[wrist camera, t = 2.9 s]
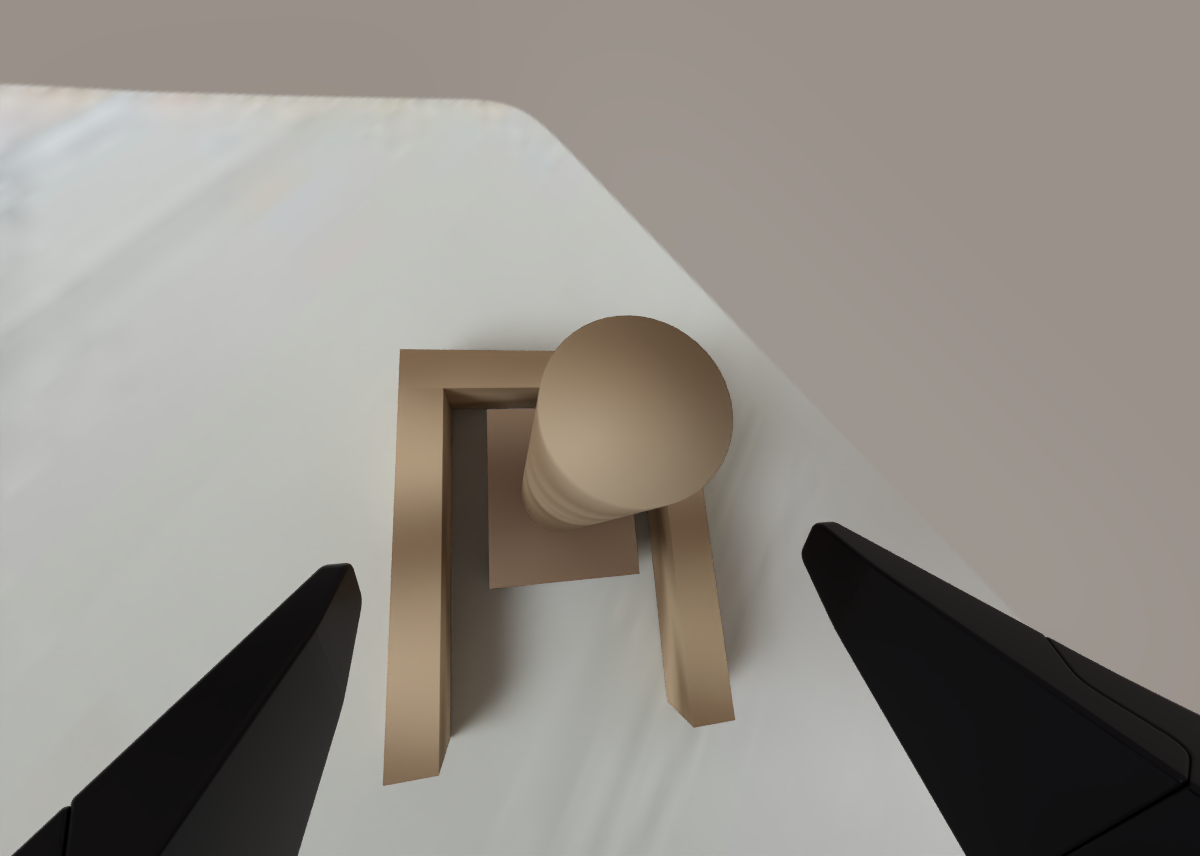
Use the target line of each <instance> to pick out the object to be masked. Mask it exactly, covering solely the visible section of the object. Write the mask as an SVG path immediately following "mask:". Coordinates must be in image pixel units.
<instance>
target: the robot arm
mask: <svg viewBox="0 0 1200 856" xmlns="http://www.w3.org/2000/svg"><path fill="white" fill-rule="evenodd" d="M802 559H803V562H804V565H805V567H806V569H807V571H808V573H809V575H810V577H811V580H812V582H813V584H814V586H815V588H816V590H817V592H818V595H819V597H820V599H821V601H822V603H823V605H824V608H825V610H826V612H827V614H828V616H829V618H830V620H831V622H832V624H833V626H834V628H835V630H836V632H837V634H838V636H839V637H840V639H841V641H842V643H843V644H844V646H845V648H846V650H847V651H848V653H849V655H850V657H851V658H852V660H853V662H854V663H855V665H856V667H857V669H858V670H859V672H860V674H861V676H862V677H863V679H864V681H865V682H866V684H867V686H868V688H869V689H870V691H871V693H872V695H873V696H874V698H875V700H876V701H877V703H878V705H879V707H880V708H881V710H882V712H883V714H884V715H885V717H886V719H887V720H888V722H889V724H890V726H891V727H892V729H893V731H894V732H895V734H896V736H897V738H898V739H899V741H900V743H901V745H902V746H903V748H904V750H905V751H906V753H907V755H908V757H909V758H910V760H911V762H912V764H913V765H914V767H915V769H916V770H917V772H918V774H919V776H920V777H921V779H922V781H923V783H924V784H925V786H926V788H927V789H928V791H929V793H930V795H931V796H932V798H933V800H934V802H935V803H936V805H937V807H938V808H939V810H940V812H941V814H942V815H943V817H944V819H945V820H946V822H947V824H948V826H949V827H950V829H951V831H952V833H953V834H954V836H955V838H956V839H957V841H958V843H959V845H960V846H961V848H962V850H963V852H964V853H965V855H966V856H1200V715H1199V714H1197V713H1195V712H1192V711H1191V710H1188V709H1186V708H1184V707H1182V706H1180V705H1178V704H1176V703H1174V702H1172V701H1170V700H1168V699H1166V698H1164V697H1162V696H1160V695H1158V694H1156V693H1154V692H1152V691H1150V690H1148V689H1146V688H1144V687H1142V686H1140V685H1138V684H1136V683H1134V682H1132V681H1130V680H1128V679H1126V678H1124V677H1122V676H1120V675H1118V674H1116V673H1115V672H1113V671H1111V670H1109V669H1107V668H1105V667H1103V666H1101V665H1099V664H1098V663H1096V662H1094V661H1092V660H1090V659H1088V658H1086V657H1084V656H1082V655H1080V654H1078V653H1077V652H1075V651H1073V650H1071V649H1069V648H1067V647H1066V646H1064V645H1062V644H1060V643H1058V642H1056V641H1055V640H1053V639H1051V638H1048V637H1045V636H1044V635H1043V634H1041V633H1039V632H1038V631H1036V630H1034V629H1032V628H1030V627H1029V626H1027V625H1025V624H1023V623H1021V622H1019V621H1017V620H1016V619H1014V618H1012V617H1010V616H1008V615H1006V614H1004V613H1003V612H1001V611H999V610H997V609H995V608H993V607H992V606H990V605H988V604H986V603H984V602H982V601H980V600H979V599H977V598H975V597H973V596H971V595H969V594H967V593H966V592H964V591H962V590H960V589H958V588H956V587H954V586H953V585H951V584H949V583H947V582H945V581H943V580H942V579H940V578H938V577H936V576H934V575H932V574H930V573H929V572H927V571H925V570H923V569H921V568H919V567H918V566H916V565H914V564H912V563H910V562H908V561H906V560H905V559H903V558H901V557H899V556H897V555H895V554H893V553H892V552H890V551H888V550H886V549H884V548H882V547H881V546H879V545H877V544H875V543H873V542H871V541H869V540H868V539H866V538H864V537H862V536H860V535H858V534H857V533H855V532H853V531H851V530H849V529H847V528H845V527H844V526H842V525H840V524H838V523H835V522H822V523H816V524H815V525H814V526H813V527H812V529H811V531H810V533H809V535H808V538H807V540H806V542H805V544H804V547H803V549H802ZM361 604H362V598H361V592H360V589H359V585H358V582H357V579H356V575H355V572H354V569H353V567H352V565H351V564H349V563H341V564H329V565H325V566H323V567H321V568H320V569H318V570H317V571H316V572H315V573H314V574H313V575H312V576H311V577H310V578H309V579H308V580H307V581H305V582H304V583H303V584H302V585H301V586H300V587H299V588H298V589H297V590H296V591H295V592H294V593H293V594H292V595H290V596H289V597H288V598H287V599H286V600H285V601H284V602H283V603H282V604H281V605H280V606H279V607H278V608H277V609H275V610H274V611H273V612H272V613H271V614H270V615H269V616H268V617H267V618H266V619H265V620H264V621H263V622H262V623H260V624H259V625H258V626H257V627H256V628H255V629H254V630H253V631H252V632H251V633H250V634H249V635H248V636H247V637H245V638H244V639H243V640H242V641H241V642H240V643H239V644H238V645H237V646H236V647H235V648H234V649H233V650H232V651H231V652H229V653H228V654H227V655H226V656H225V657H224V658H223V659H222V660H221V661H220V662H219V663H218V664H217V665H216V666H214V667H213V668H212V669H211V670H210V671H209V672H208V673H207V674H206V675H205V676H204V677H203V678H202V679H201V680H199V681H198V682H197V683H196V684H195V685H194V686H193V687H192V688H191V689H190V690H189V691H188V692H187V693H186V694H184V695H183V696H182V697H181V698H180V699H179V700H178V701H177V702H176V703H175V704H174V705H173V706H172V707H171V708H169V709H168V710H167V711H166V712H165V713H164V714H163V715H162V716H161V717H160V718H159V719H158V720H157V721H156V722H155V723H153V724H152V725H151V726H150V727H149V728H148V729H147V730H146V731H145V732H144V733H143V734H142V735H141V736H140V737H138V738H137V739H136V740H135V741H134V742H133V743H132V744H131V745H130V746H129V747H128V748H127V749H126V750H125V751H123V752H122V753H121V754H120V755H119V756H118V757H117V758H116V759H115V760H114V761H113V762H112V763H111V764H110V765H108V766H107V767H106V768H105V769H104V770H103V771H102V772H101V773H100V774H99V775H98V776H97V777H96V778H95V779H93V780H92V781H91V782H90V783H89V784H88V785H87V786H86V787H85V788H84V789H83V790H82V791H81V792H80V793H79V794H77V795H76V796H75V797H74V798H73V800H72V802H71V806H67V807H64V808H62V809H61V810H60V811H59V812H58V813H57V814H56V815H55V816H54V817H52V818H51V819H50V820H49V821H48V822H47V823H46V824H45V825H44V826H43V827H42V828H41V829H40V830H39V831H37V832H36V833H35V834H34V835H33V836H32V837H31V838H30V839H29V840H28V841H27V842H26V843H25V844H24V845H22V846H21V847H20V848H19V849H18V850H17V851H16V852H15V853H14V854H13V855H12V856H298V853H299V850H300V846H301V843H302V840H303V836H304V833H305V830H306V826H307V823H308V820H309V816H310V813H311V810H312V806H313V803H314V800H315V796H316V793H317V790H318V786H319V783H320V780H321V776H322V773H323V770H324V766H325V763H326V760H327V756H328V753H329V750H330V746H331V743H332V740H333V736H334V733H335V730H336V726H337V723H338V720H339V716H340V713H341V709H342V705H343V702H344V697H345V692H346V687H347V682H348V677H349V671H350V666H351V660H352V655H353V650H354V644H355V639H356V633H357V628H358V623H359V617H360V612H361Z"/></svg>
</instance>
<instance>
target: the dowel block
mask: <svg viewBox="0 0 1200 856" xmlns="http://www.w3.org/2000/svg"><path fill="white" fill-rule="evenodd" d="M732 430H733V412H732V404H731V399H730V395H729V391H728V388H727V386H726V383H725V380H724V378H723V376H722V374H721V372H720V370H719V369H718V367H717V366H716V364H715V363H714V361H713V360H712V358H711V357H710V356H709V355H708V354H707V352H706V351H705V350H704V349H703V348H702V347H701V346H700V345H699V344H698V343H697V342H696V341H694V340H693V339H692V338H691V337H689V336H688V335H687V334H685V333H683V332H682V331H680V330H679V329H677V328H675V327H673V326H671V325H669V324H666V323H664V322H661V321H658V320H655V319H651V318H646V317H641V316H614V317H608V318H604V319H600V320H597V321H594V322H592V323H589V324H587V325H585V326H583V327H581V328H580V329H578V330H577V331H575V332H574V333H572V334H571V335H570V336H569V337H568V338H566V339H565V340H564V341H563V342H562V343H561V345H560V346H559V347H558V348H557V349H556V351H555V352H554V353H553V355H552V356H551V358H550V360H549V362H548V364H547V366H546V368H545V370H544V373H543V376H542V380H541V383H540V389H539V394H538V399H537V405H536V409H487V460H488V529H489V589H494V588H504V587H514V586H523V585H533V584H543V583H553V582H562V581H572V580H582V579H592V578H602V577H611V576H621V575H631V574H640V573H639V562H638V552H637V542H636V532H635V521H634V514H636V513H640V512H644V511H648V510H651V509H655V508H659V507H663V506H667V505H670V504H674V503H677V502H679V501H681V500H683V499H686V498H688V497H689V496H691V495H693V494H694V493H696V492H697V491H699V490H700V489H701V488H702V487H703V486H705V485H706V484H707V483H708V482H709V481H710V480H711V478H712V477H713V476H714V475H715V474H716V472H717V471H718V469H719V468H720V466H721V465H722V463H723V461H724V458H725V456H726V454H727V452H728V448H729V445H730V442H731V436H732Z"/></svg>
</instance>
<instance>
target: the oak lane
mask: <svg viewBox="0 0 1200 856" xmlns="http://www.w3.org/2000/svg"><path fill="white" fill-rule="evenodd" d="M554 352H555V351H501V350H416V349H400V364H399V389H398V415H397V441H396V466H395V492H394V517H393V543H392V568H391V594H390V619H389V645H388V671H387V696H386V722H385V747H384V773H383V786H385V785H390V784H396V783H401V782H406V781H412V780H417V779H423V778H428V777H433V776H439V773H440V770H441V767H442V763H443V760H444V757H445V754H446V750H447V747H448V744H449V741H450V671H451V508H452V409H476V408H536V405H537V399H538V394H539V389H540V383H541V380H542V376H543V373H544V370H545V368H546V366H547V364H548V362H549V360H550V358H551V356H552V355H553V353H554ZM647 512H648V521H649V530H650V540H651V549H652V559H653V568H654V578H655V587H656V597H657V606H658V616H659V625H660V634H661V644H662V653H663V663H664V672H665V682H666V691H667V701H668V703H669V704H670V705H671V706H672V707H673V708H674V709H676V710H677V711H678V712H679V713H680V714H681V715H682V716H683V717H684V718H685V719H686V720H687V721H688V722H689V723H690V724H691V725H692V726H693V727H694V728H695V727H700V726H705V725H711V724H716V723H721V722H727V721H732V720H735V716H734V709H733V702H732V695H731V688H730V680H729V673H728V666H727V659H726V652H725V644H724V637H723V630H722V623H721V616H720V609H719V601H718V594H717V587H716V580H715V573H714V565H713V558H712V551H711V544H710V537H709V530H708V522H707V515H706V508H705V501H704V494H703V487H702V488H701V489H700V490H699V491H697V492H696V493H694V494H693V495H691V496H689V497H688V498H686V499H683V500H681V501H679V502H677V503H674V504H670V505H667V506H663V507H659V508H655V509H651V510H648V511H647Z"/></svg>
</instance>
